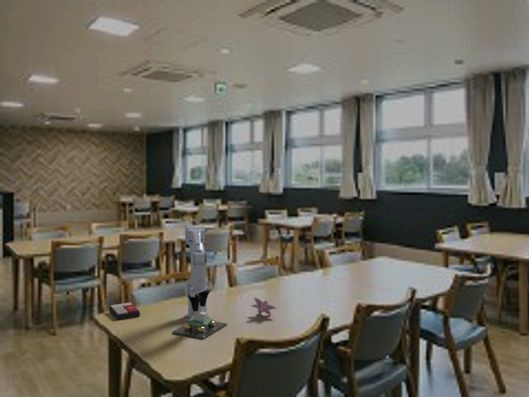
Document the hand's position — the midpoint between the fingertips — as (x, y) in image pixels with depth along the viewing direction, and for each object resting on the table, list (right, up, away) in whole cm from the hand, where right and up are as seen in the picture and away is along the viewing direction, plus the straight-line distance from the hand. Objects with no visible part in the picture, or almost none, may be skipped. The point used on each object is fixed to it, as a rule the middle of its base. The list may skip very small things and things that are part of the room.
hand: (199, 308), depth 203 cm
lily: (+29, -9, +20) cm, 36 cm away
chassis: (0, -9, 0) cm, 9 cm away
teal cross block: (0, -6, 0) cm, 6 cm away
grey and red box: (-40, -9, +21) cm, 46 cm away
